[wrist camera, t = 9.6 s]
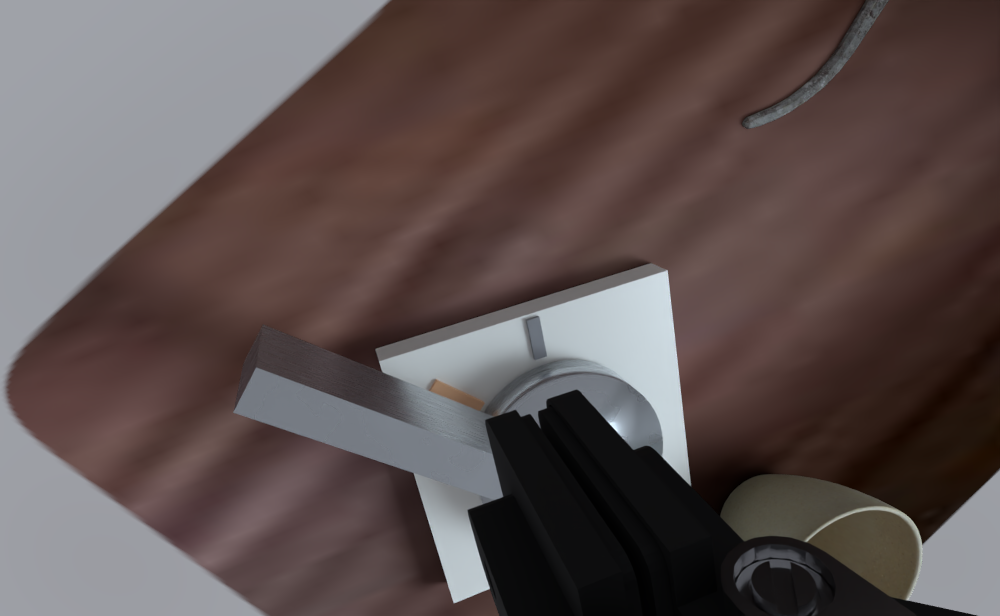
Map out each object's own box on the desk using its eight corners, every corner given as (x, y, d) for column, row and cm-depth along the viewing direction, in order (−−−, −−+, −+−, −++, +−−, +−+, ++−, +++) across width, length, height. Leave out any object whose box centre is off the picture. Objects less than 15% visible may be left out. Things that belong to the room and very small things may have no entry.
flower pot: (822, 416, 38) (932, 482, 31) (816, 547, 41) (914, 630, 35) (678, 465, 35) (764, 547, 29) (685, 598, 39) (763, 698, 32)
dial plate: (651, 262, 31) (669, 271, 29) (678, 489, 36) (695, 507, 34) (375, 348, 28) (379, 363, 26) (447, 582, 33) (454, 606, 31)
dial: (673, 399, 31) (758, 466, 26) (583, 544, 32) (646, 640, 27) (308, 223, 24) (311, 262, 18) (207, 422, 25) (180, 520, 19)
